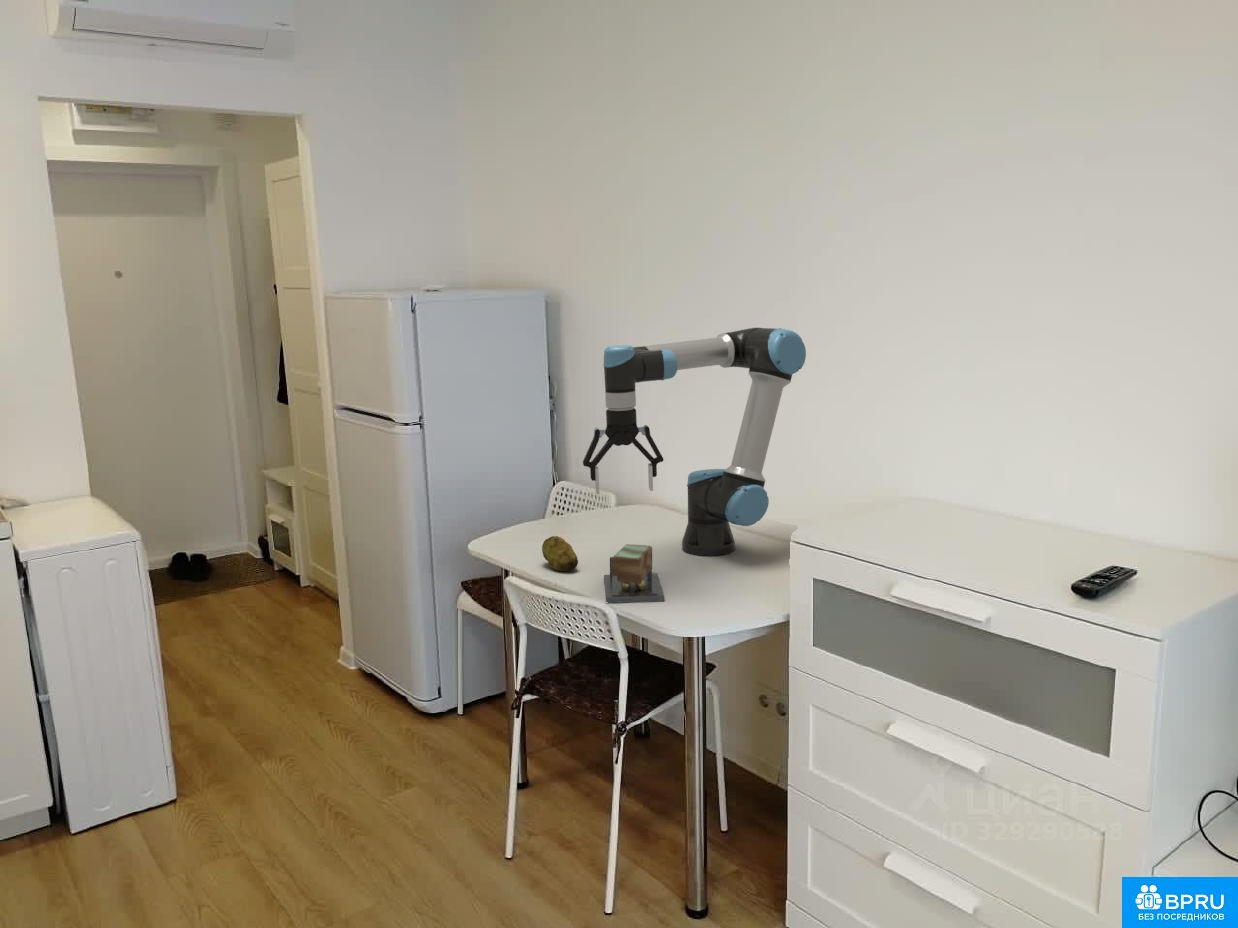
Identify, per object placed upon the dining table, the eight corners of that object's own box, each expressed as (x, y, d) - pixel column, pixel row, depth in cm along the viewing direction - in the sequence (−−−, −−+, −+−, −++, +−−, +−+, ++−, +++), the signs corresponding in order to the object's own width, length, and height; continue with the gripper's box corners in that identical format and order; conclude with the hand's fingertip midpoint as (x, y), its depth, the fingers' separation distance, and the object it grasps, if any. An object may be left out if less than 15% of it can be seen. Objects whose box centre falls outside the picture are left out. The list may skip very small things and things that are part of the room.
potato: (549, 576, 258) (548, 546, 257) (540, 562, 271) (539, 534, 269) (580, 572, 260) (579, 544, 259) (569, 559, 273) (568, 532, 271)
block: (626, 567, 251) (625, 543, 250) (652, 569, 249) (652, 545, 248) (612, 581, 240) (611, 556, 239) (639, 583, 238) (639, 558, 237)
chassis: (603, 580, 254) (603, 556, 252) (657, 578, 254) (657, 554, 253) (606, 603, 236) (605, 577, 235) (664, 601, 237) (663, 575, 235)
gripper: (668, 403, 247) (671, 484, 252) (570, 408, 245) (574, 490, 250) (672, 407, 240) (675, 491, 244) (571, 413, 238) (575, 497, 242)
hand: (624, 491), depth 247 cm, fingers open, 13 cm apart
